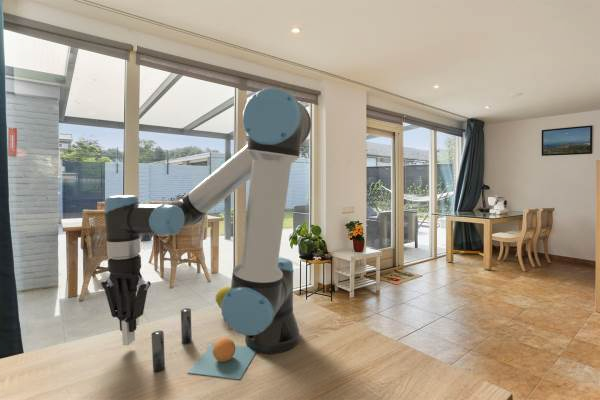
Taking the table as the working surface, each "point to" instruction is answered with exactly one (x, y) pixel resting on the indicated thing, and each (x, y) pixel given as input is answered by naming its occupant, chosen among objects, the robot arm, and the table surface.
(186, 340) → the right post
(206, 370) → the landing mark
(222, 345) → the ball
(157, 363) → the left post
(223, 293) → the light bulb
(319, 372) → the table surface
